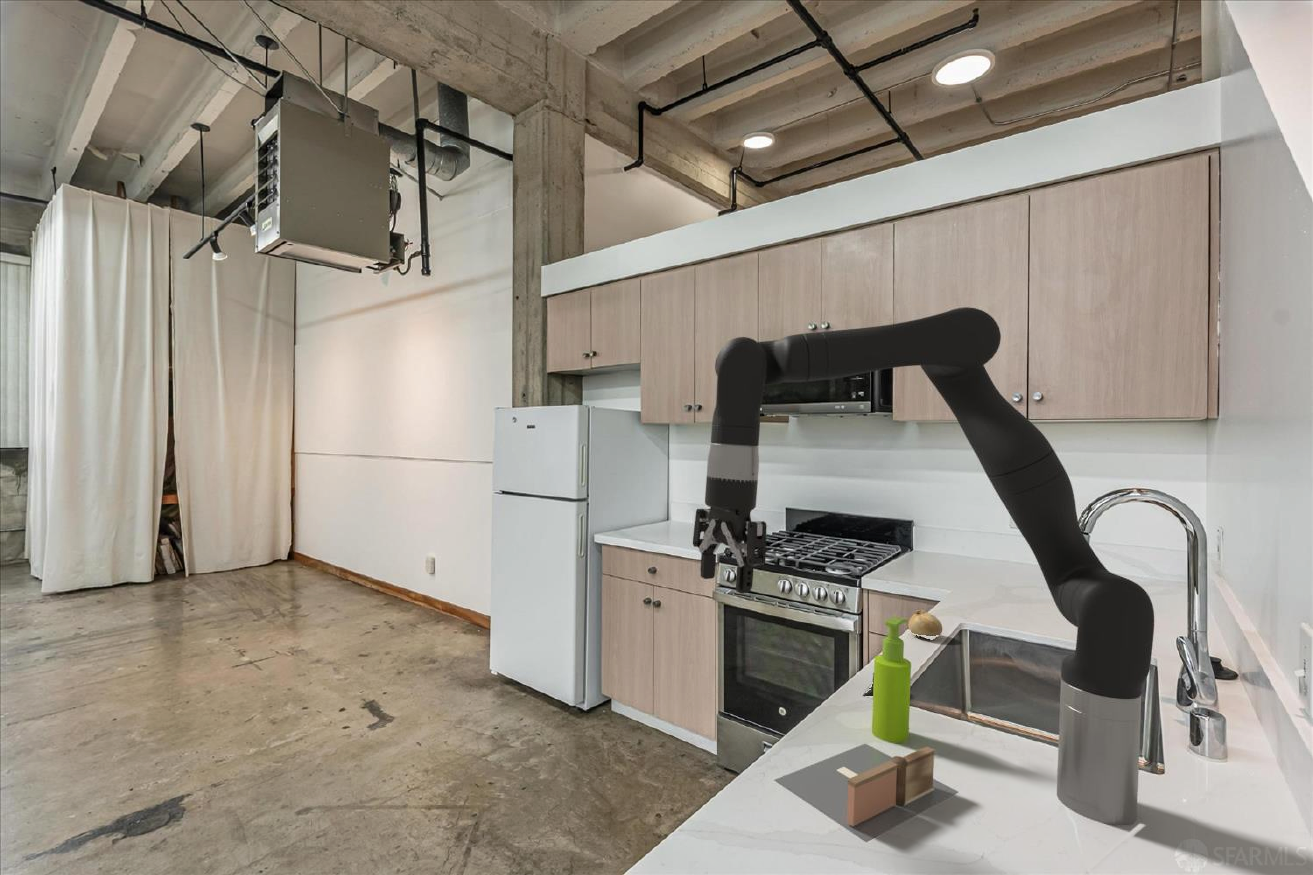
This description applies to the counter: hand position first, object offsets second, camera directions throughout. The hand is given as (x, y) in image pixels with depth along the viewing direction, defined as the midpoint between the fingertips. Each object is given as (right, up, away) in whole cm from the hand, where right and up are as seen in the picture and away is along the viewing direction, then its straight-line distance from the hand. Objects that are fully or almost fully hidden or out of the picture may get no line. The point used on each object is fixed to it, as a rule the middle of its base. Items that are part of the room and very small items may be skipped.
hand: (724, 584), depth 91 cm
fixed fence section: (+26, -29, -3) cm, 39 cm away
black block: (+36, -30, +34) cm, 58 cm away
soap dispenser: (+30, -30, +15) cm, 45 cm away
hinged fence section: (+19, -29, -8) cm, 35 cm away
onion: (+60, -31, +69) cm, 97 cm away
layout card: (+20, -29, -1) cm, 36 cm away
